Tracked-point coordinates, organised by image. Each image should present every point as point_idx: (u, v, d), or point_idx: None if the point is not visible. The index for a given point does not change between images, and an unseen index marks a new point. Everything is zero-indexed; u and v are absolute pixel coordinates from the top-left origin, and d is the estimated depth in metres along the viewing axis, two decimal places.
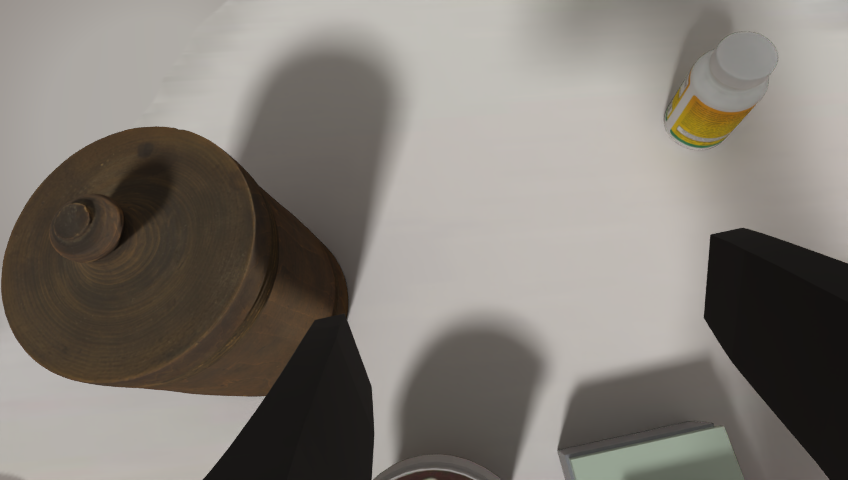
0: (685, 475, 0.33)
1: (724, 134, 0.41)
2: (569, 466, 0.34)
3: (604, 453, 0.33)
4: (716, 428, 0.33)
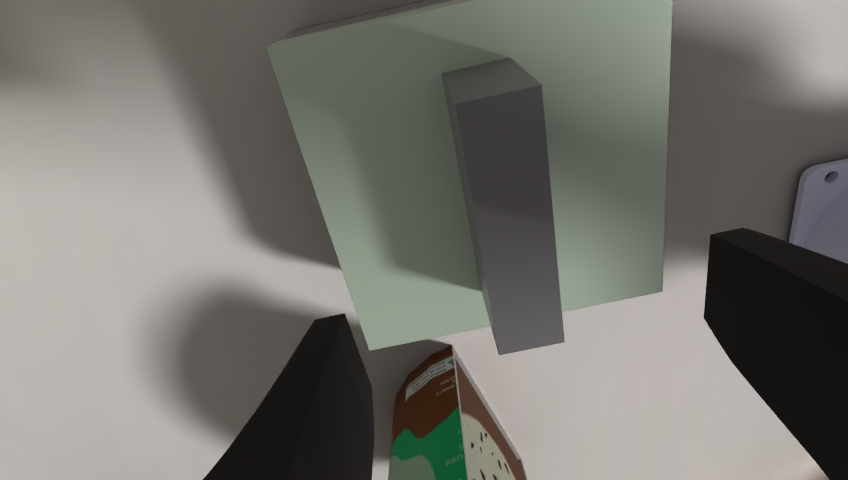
0: (388, 155, 0.14)
1: None
2: None
3: (353, 299, 0.16)
4: (274, 67, 0.13)
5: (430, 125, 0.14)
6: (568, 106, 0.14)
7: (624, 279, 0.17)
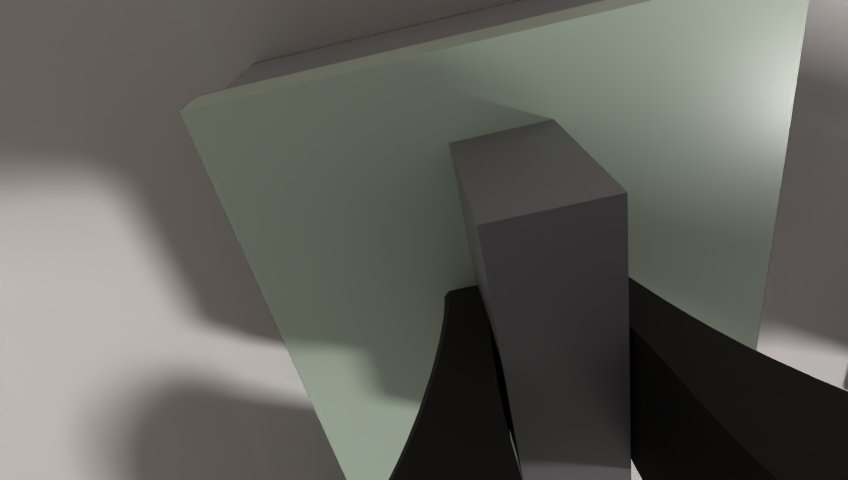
0: (372, 256, 0.10)
1: None
2: None
3: (327, 435, 0.12)
4: (195, 137, 0.08)
5: (432, 215, 0.09)
6: (636, 186, 0.09)
7: None
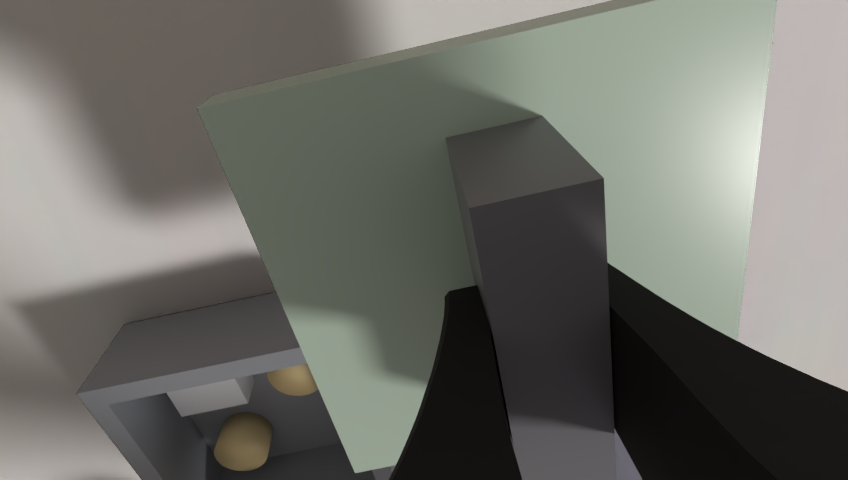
0: (374, 244, 0.10)
1: None
2: None
3: (332, 416, 0.13)
4: (211, 132, 0.09)
5: (430, 205, 0.10)
6: (620, 178, 0.10)
7: None
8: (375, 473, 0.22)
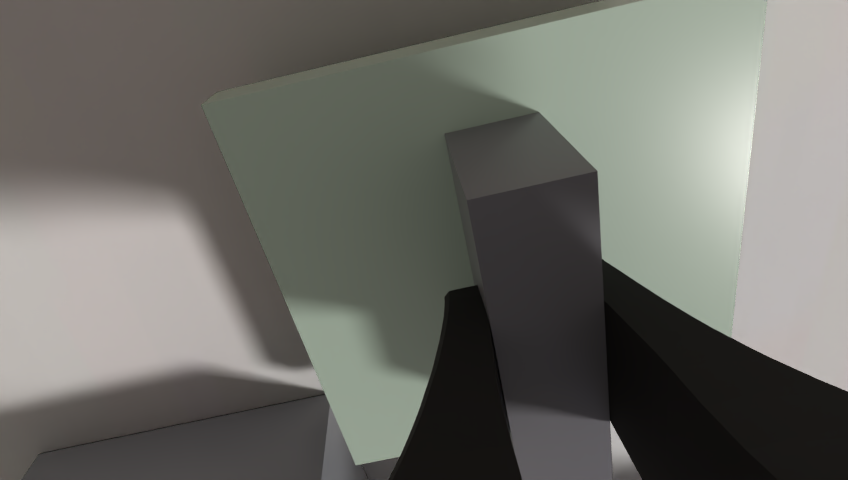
0: (374, 238, 0.11)
1: None
2: None
3: (333, 409, 0.13)
4: (215, 129, 0.09)
5: (430, 200, 0.10)
6: (615, 173, 0.10)
7: None
8: None
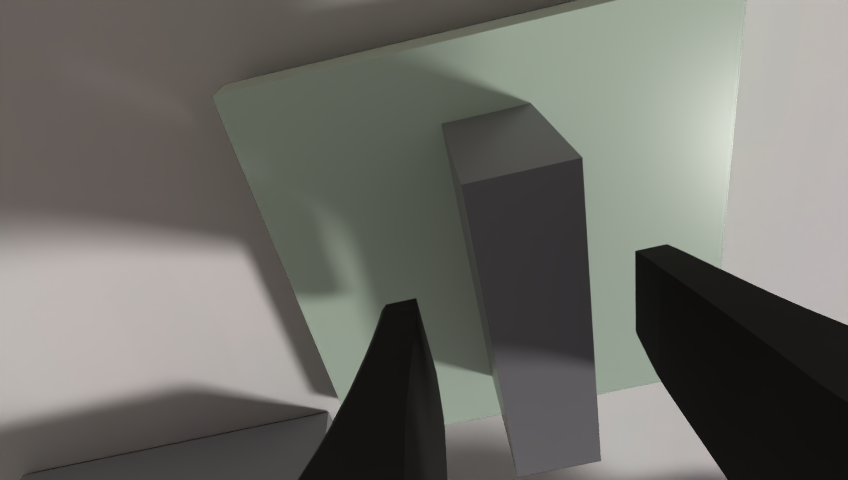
0: (375, 224, 0.11)
1: None
2: None
3: (335, 388, 0.13)
4: (224, 119, 0.10)
5: (428, 187, 0.11)
6: (604, 161, 0.11)
7: None
8: None
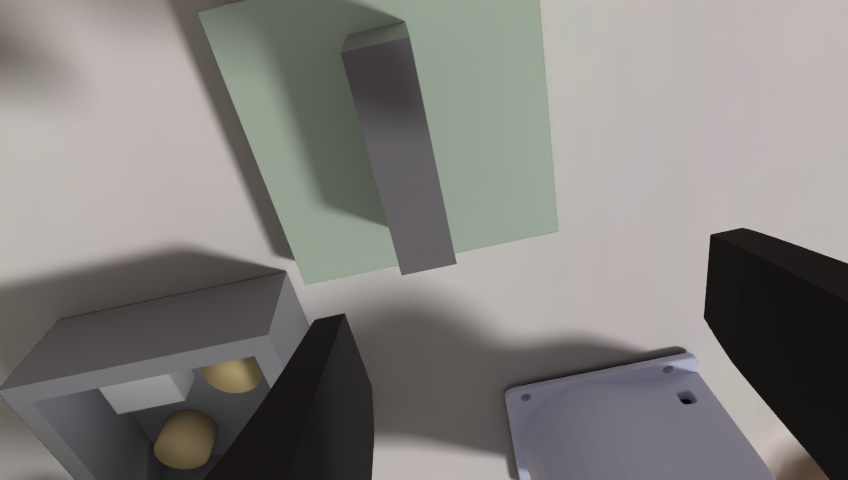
0: (308, 106, 0.17)
1: None
2: None
3: (287, 237, 0.19)
4: (206, 29, 0.15)
5: (341, 80, 0.16)
6: (458, 64, 0.16)
7: (524, 220, 0.19)
8: None
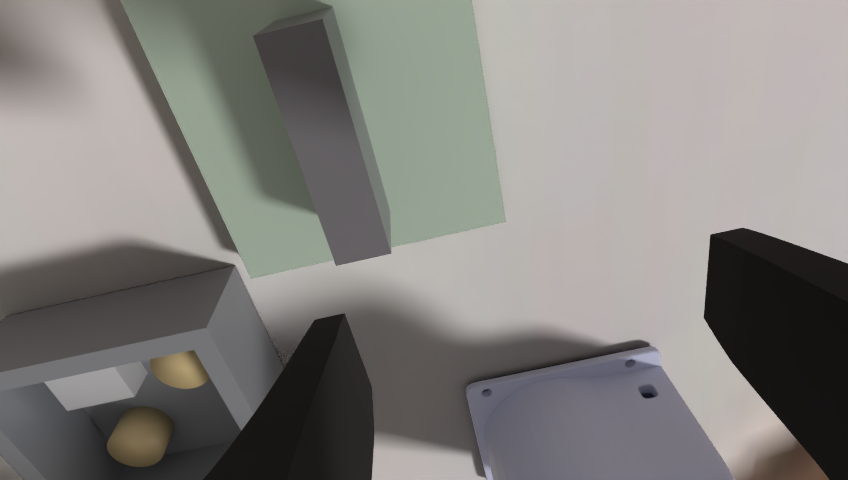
0: (240, 95, 0.16)
1: None
2: None
3: (228, 230, 0.19)
4: (130, 16, 0.15)
5: None
6: (391, 50, 0.16)
7: (469, 210, 0.19)
8: None
